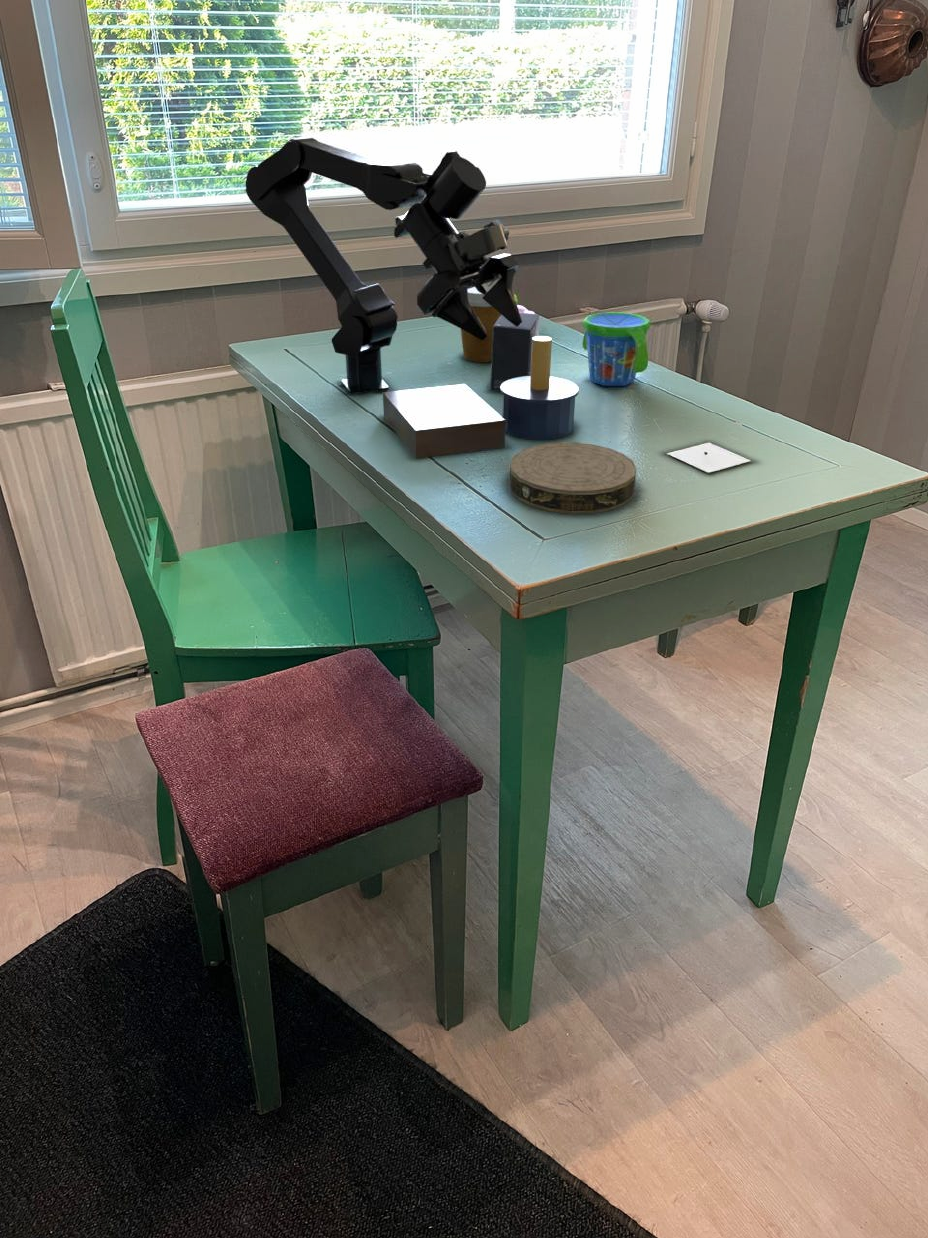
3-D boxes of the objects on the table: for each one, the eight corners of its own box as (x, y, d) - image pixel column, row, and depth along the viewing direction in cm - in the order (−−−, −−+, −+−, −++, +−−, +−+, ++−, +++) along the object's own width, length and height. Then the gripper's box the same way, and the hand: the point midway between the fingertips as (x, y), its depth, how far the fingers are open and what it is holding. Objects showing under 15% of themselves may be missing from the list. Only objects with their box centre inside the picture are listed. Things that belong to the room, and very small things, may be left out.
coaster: (751, 460, 127) (752, 455, 127) (708, 472, 123) (709, 467, 123) (708, 442, 133) (709, 437, 132) (666, 453, 129) (667, 448, 129)
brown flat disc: (653, 507, 114) (656, 485, 113) (527, 519, 111) (528, 495, 110) (609, 459, 128) (611, 438, 126) (495, 468, 125) (496, 446, 123)
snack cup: (563, 370, 162) (566, 310, 156) (617, 365, 165) (622, 305, 160) (604, 398, 149) (610, 334, 144) (662, 391, 152) (670, 328, 147)
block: (383, 418, 141) (382, 392, 139) (465, 409, 145) (465, 383, 143) (416, 458, 127) (415, 430, 125) (505, 447, 131) (505, 419, 129)
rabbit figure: (489, 323, 194) (514, 329, 180) (489, 293, 191) (513, 297, 178) (518, 321, 195) (544, 327, 182) (517, 291, 193) (544, 295, 180)
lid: (488, 387, 138) (490, 331, 134) (558, 379, 142) (562, 325, 137) (517, 411, 129) (519, 352, 125) (591, 402, 133) (596, 345, 128)
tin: (492, 419, 141) (493, 383, 138) (555, 412, 144) (557, 377, 141) (518, 443, 132) (519, 405, 130) (584, 435, 135) (587, 398, 133)
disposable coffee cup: (517, 354, 170) (519, 286, 164) (490, 367, 163) (491, 296, 157) (472, 346, 174) (473, 279, 168) (444, 359, 167) (444, 289, 161)
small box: (529, 394, 151) (531, 328, 145) (489, 391, 152) (490, 326, 146) (537, 375, 160) (540, 312, 154) (500, 372, 161) (501, 309, 155)
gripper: (432, 209, 122) (502, 308, 122) (508, 193, 135) (571, 283, 135) (387, 266, 130) (453, 359, 130) (463, 246, 143) (523, 330, 143)
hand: (502, 331), depth 134 cm, fingers open, 9 cm apart
